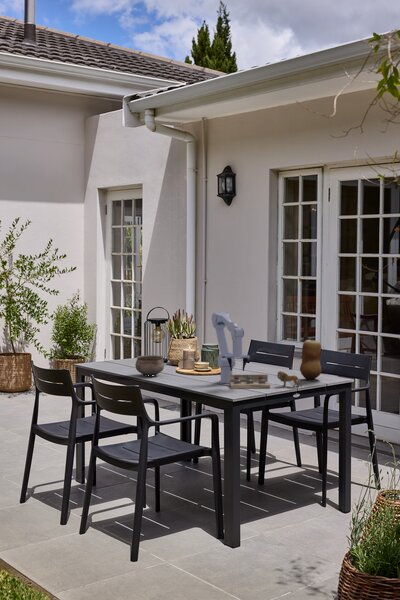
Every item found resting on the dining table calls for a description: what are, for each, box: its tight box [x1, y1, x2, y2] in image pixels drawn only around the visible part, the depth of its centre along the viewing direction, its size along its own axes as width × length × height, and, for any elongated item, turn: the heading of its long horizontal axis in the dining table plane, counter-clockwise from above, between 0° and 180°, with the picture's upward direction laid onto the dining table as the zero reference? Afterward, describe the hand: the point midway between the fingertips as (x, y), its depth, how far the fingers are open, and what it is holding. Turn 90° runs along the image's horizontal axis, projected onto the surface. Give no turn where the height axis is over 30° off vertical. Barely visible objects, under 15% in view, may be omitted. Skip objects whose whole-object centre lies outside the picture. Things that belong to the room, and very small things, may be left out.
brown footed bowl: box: [135, 354, 165, 377], centre depth 517 cm, size 25×19×12 cm
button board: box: [229, 374, 271, 389], centre depth 476 cm, size 14×23×6 cm, turn 92°
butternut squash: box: [299, 339, 322, 381], centre depth 502 cm, size 14×13×25 cm
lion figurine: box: [277, 370, 302, 388], centre depth 476 cm, size 15×5×9 cm, turn 80°
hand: (237, 370), depth 475 cm, fingers open, 7 cm apart
